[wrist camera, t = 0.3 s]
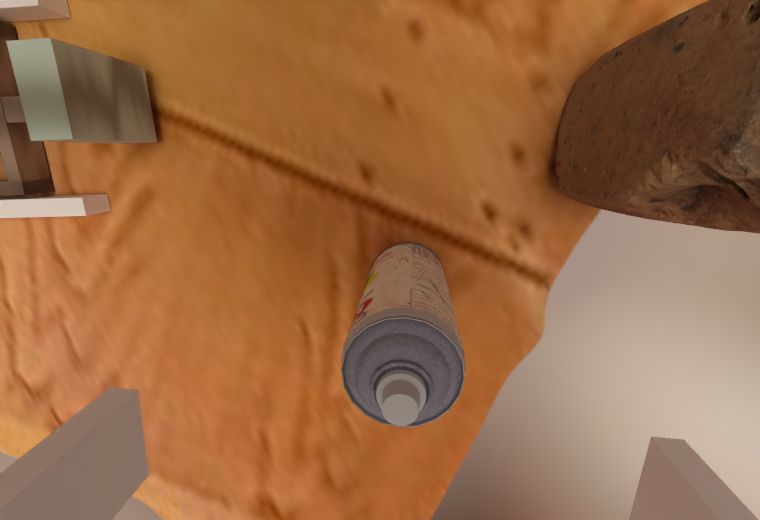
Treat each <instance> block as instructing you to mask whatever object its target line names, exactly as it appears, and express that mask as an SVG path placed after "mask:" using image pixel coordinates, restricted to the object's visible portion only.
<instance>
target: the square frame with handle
mask: <svg viewBox="0 0 760 520" xmlns="http://www.w3.org/2000/svg"><path fill="white" fill-rule="evenodd" d="M42 141H53V142H87V143H121V144H127V143H151V142H157V138H156V132H155V127H154V121H153V115H152V109H151V103H150V97H149V92H148V86H147V80H146V74H145V68H144V67H142V66H139V65H135V64H132V63H129V62H126V61H123V60H119V59H116V58H113V57H110V56H107V55H104V54H100V53H97V52H94V51H91V50H88V49H84V48H81V47H78V46H75V45H72V44H68V43H65V42H62V41H59V40H56V39H53V38H41V39H26V40H17V35H16V31H15V27H14V26H10V25H7V24H4V23H1V22H0V152H1V155H2V159H3V163H4V166H5V170H6V174H7V178H8V180H0V195H27V194H36V193H45V192H54V188H53V184H52V180H51V176H50V172H49V168H48V164H47V159H46V155H45V151H44V147H43V143H42Z"/></svg>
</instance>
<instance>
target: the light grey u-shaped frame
mask: <svg viewBox="0 0 760 520" xmlns="http://www.w3.org/2000/svg"><path fill="white" fill-rule="evenodd" d="M60 18H70V13H69V8H68V3H67V0H0V22H1V23H6V22H20V21H33V20H47V19H60ZM108 211H111V209H110V205H109V200H108V195H107V194H91V195H60V196H28V197H0V218H21V217H59V216H87V215H93V214H98V213H103V212H108Z"/></svg>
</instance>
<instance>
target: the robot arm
mask: <svg viewBox="0 0 760 520" xmlns="http://www.w3.org/2000/svg"><path fill="white" fill-rule="evenodd" d="M148 475H149V470H148V463H147V455H146V447H145V440H144V432H143V424H142V416H141V409H140V401H139V393H138V390H136V389H125V388H114V387H110V388H109V389H108V390H106V391H105V392H104V393H103V394H101V395H100V396H99V397H97V398H96V399H95V400H94V401H92V402H91V403H90V404H89V405H87V406H86V407H85V408H83V409H82V410H81V411H80V412H78V413H77V414H76V415H74V416H73V417H72V418H71V419H69V420H68V421H67V422H65V423H64V424H63V425H62V426H60V427H59V428H58V429H56V430H55V431H54V432H53V433H51V434H50V435H49V436H47V437H46V438H45V439H44V440H42V441H41V442H40V443H39V444H37V445H36V446H35V447H33V448H32V449H31V450H30V451H28V452H27V453H26V454H24V455H23V456H22V457H21V458H19V459H18V460H17V461H15V462H14V463H13V464H12V465H10V466H9V467H8V468H7V469H5V470H4V471H3V472H1V473H0V520H112V519H113V518H114V517H115V516H116V515H117V513H118V512H119V511H120V510H121V508H122V507H123V506H124V505H125V504H126V502H127V501H128V500H129V499H130V497H131V496H132V495H133V494H134V493H135V491H136V490H137V489H138V488H139V486H140V485H141V484H142V483H143V482H144V480H145V479H146V478H147V477H148ZM629 520H758V519H757V518H756V517H755V516H754V514H753V513H751V511H750V510H749V509H748V508H747V507H746V506H745V505H744V504H743V503H742V502H741V501H740V500H739V498H737V496H736V495H735V494H734V493H733V492H732V491H731V490H730V489H729V488H728V487H727V485H726V484H725V483H724V482H723V481H722V480H721V479H720V478H719V477H718V476H717V475H716V474H715V473H714V472H713V470H712V469H711V468H710V467H709V466H708V465H707V464H706V463H705V462H704V461H703V460H702V459H701V458H700V457H699V455H698V454H697V453H696V452H695V451H694V450H693V449H692V448H691V447H690V446H689V445H688V444H687V443H686V441H685V440H680V439H670V438H658V437H651V439H650V443H649V447H648V451H647V454H646V458H645V462H644V466H643V469H642V473H641V477H640V481H639V484H638V488H637V492H636V496H635V500H634V503H633V507H632V511H631V514H630V518H629Z"/></svg>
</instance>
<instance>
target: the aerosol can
mask: <svg viewBox="0 0 760 520" xmlns="http://www.w3.org/2000/svg"><path fill="white" fill-rule="evenodd" d="M341 361H342V367H341V373H342V379H343V385H344V388H345V390H346V392H347V394H348V396H349V398H350V399H351V401H352V403H353V404H354V405H355V406H356V407H357V408H358V409H359V410H361V411H362V412H363V413H364V414H365V415H366V416H368V417H370V418H372V419H374V420H376V421H378V422H379V423H382V424H386V425H391V426H395V427H416V426H421V425H424V424H426V423H429V422H432V421H435V420H437V419H438V418H439V417H441V416H442V415H444V414H445V413H446V412H448V411H449V410H450V409H451V408H452V406H453V405H454V403H455V402H456V401H457V399H458V398H459V396H460V394H461V390H462V387H463V383H464V380H465V376H464V372H465V360H464V350H463V346H462V342H461V338H460V334H459V330H458V326H457V322H456V318H455V314H454V310H453V306H452V302H451V298H450V294H449V290H448V286H447V282H446V278H445V274H444V270H443V267H442V265H441V263H440V261H439V259H438V257H437V256H436V255H435V254H434V253H433V252H432V251H431V250H429V249H428V248H426V247H424V246H422V245H420V244H415V243H410V242H407V243H398V244H395V245H393V246H391V247H388V248H387V249H386V250H384V251H383V252H382V253H381V254H380V255H379V256H378V258H377V259H376V261H375V263H374V265H373V267H372V270H371V272H370V275H369V278H368V281H367V283H366V286H365V289H364V292H363V294H362V297H361V300H360V303H359V305H358V308H357V311H356V314H355V316H354V319H353V322H352V325H351V327H350V330H349V333H348V336H347V338H346V341H345V344H344V350H343V355H342V360H341Z"/></svg>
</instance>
